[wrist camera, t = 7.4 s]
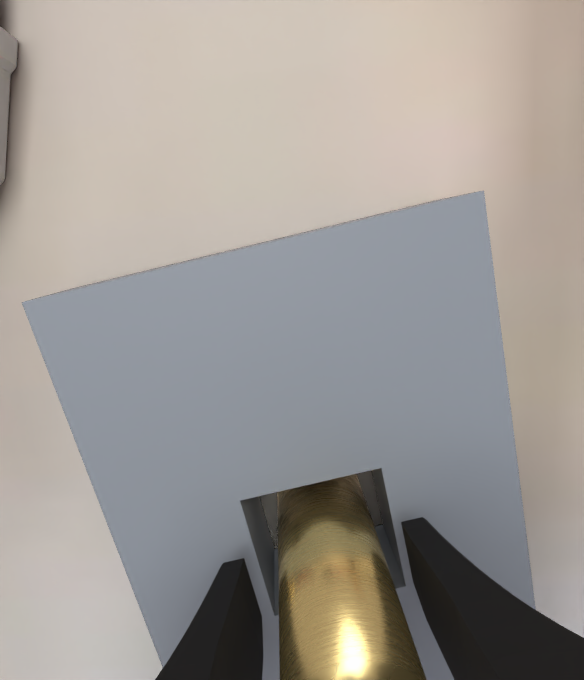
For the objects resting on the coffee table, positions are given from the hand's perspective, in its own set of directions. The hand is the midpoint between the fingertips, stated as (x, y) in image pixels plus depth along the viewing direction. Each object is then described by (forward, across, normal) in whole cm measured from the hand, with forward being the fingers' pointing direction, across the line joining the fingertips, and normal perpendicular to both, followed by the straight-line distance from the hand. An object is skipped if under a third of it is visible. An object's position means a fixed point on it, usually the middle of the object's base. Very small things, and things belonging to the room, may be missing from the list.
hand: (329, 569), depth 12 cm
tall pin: (+4, 0, 0) cm, 4 cm away
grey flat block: (+4, 0, 0) cm, 4 cm away
